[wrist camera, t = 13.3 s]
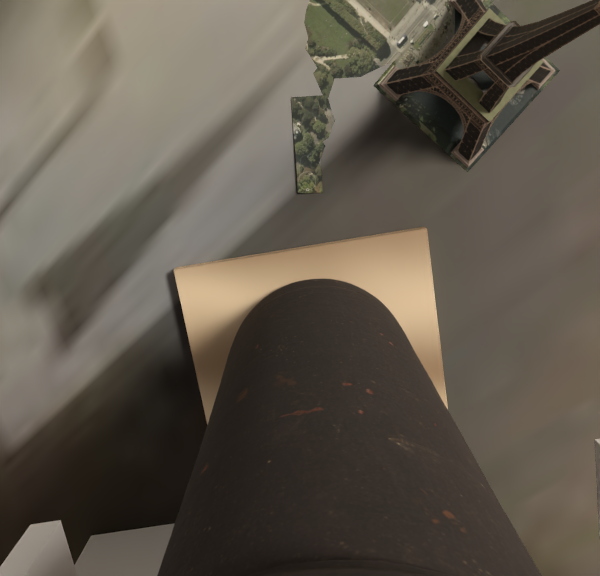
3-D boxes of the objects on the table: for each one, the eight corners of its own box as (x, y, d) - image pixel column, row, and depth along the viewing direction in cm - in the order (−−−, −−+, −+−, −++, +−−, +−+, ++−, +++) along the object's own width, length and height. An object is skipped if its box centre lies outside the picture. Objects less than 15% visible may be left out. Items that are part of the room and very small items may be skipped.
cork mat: (176, 267, 25) (173, 269, 24) (423, 226, 24) (426, 228, 24) (224, 487, 27) (222, 495, 27) (450, 453, 27) (453, 460, 26)
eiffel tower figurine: (655, -81, 22) (1151, -419, 9) (638, 177, 25) (1021, 195, 12) (280, -53, 23) (254, -346, 10) (297, 201, 25) (295, 244, 12)
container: (238, 470, 26) (72, 1355, 7) (206, 283, 24) (-157, 771, 5) (422, 447, 26) (797, 1289, 7) (404, 257, 24) (862, 654, 5)
